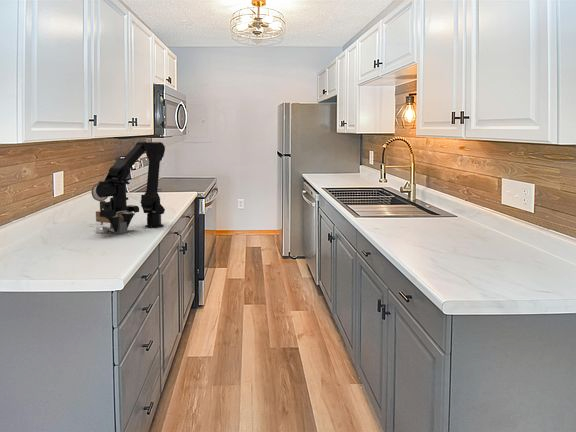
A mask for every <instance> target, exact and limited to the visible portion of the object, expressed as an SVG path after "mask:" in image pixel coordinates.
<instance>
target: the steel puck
mask: <svg viewBox="0 0 576 432" xmlns="http://www.w3.org/2000/svg"><path fill="white" fill-rule="evenodd" d="M108 228H109V227H108V226H103V225H102V226H96V227H95V234H108V233H109V231H108Z"/></svg>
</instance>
